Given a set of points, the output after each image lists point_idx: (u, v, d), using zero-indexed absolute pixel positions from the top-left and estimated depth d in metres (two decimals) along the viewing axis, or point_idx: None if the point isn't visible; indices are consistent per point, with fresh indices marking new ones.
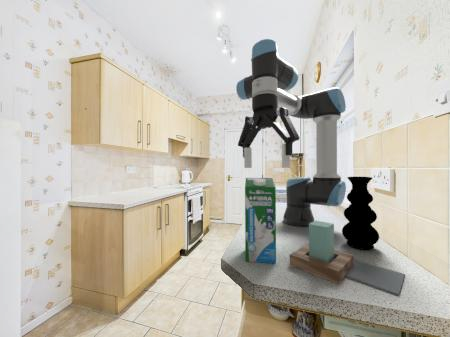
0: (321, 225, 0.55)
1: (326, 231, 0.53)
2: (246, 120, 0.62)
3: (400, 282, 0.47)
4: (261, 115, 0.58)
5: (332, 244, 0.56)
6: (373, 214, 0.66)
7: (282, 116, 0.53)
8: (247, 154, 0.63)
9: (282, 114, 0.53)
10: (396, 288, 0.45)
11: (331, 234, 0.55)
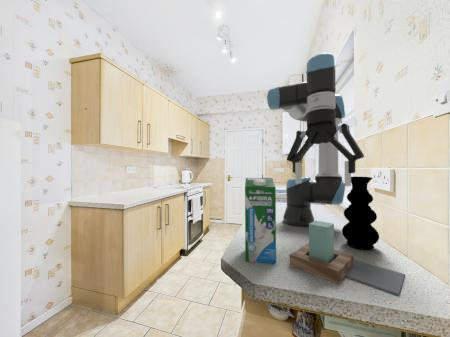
0: (321, 225, 0.55)
1: (326, 231, 0.53)
2: (298, 134, 0.60)
3: (400, 282, 0.47)
4: (317, 130, 0.56)
5: (332, 244, 0.56)
6: (373, 214, 0.66)
7: (345, 133, 0.51)
8: (298, 169, 0.61)
9: (345, 131, 0.51)
10: (396, 288, 0.45)
11: (331, 234, 0.55)
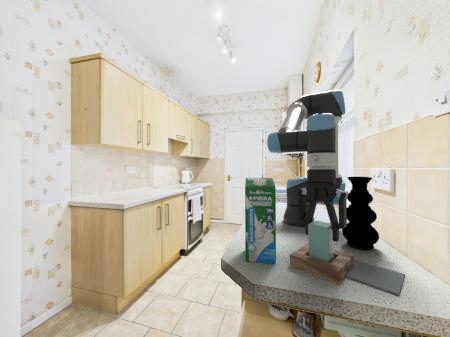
0: (321, 225, 0.55)
1: (326, 231, 0.53)
2: (300, 192, 0.60)
3: (400, 282, 0.47)
4: (317, 184, 0.56)
5: None
6: (373, 214, 0.66)
7: (341, 201, 0.52)
8: None
9: (342, 199, 0.52)
10: (396, 288, 0.45)
11: None
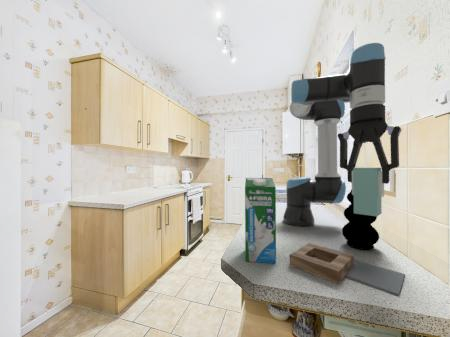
0: None
1: (375, 172, 0.48)
2: (341, 137, 0.55)
3: (400, 282, 0.47)
4: (362, 124, 0.51)
5: None
6: None
7: (393, 137, 0.47)
8: None
9: (395, 135, 0.47)
10: (396, 288, 0.45)
11: None
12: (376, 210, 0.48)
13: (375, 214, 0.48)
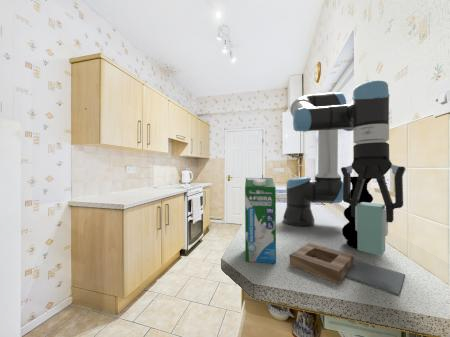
0: (372, 205, 0.50)
1: (380, 211, 0.48)
2: (344, 171, 0.55)
3: (400, 282, 0.47)
4: (366, 160, 0.51)
5: None
6: None
7: (398, 177, 0.46)
8: None
9: (399, 175, 0.46)
10: (396, 288, 0.45)
11: None
12: (380, 249, 0.48)
13: (379, 253, 0.48)
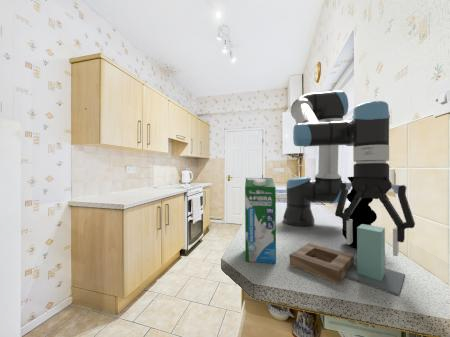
0: (372, 229, 0.50)
1: (380, 236, 0.48)
2: (343, 187, 0.55)
3: (400, 282, 0.47)
4: (367, 182, 0.51)
5: (384, 250, 0.50)
6: (373, 214, 0.66)
7: (401, 196, 0.46)
8: (350, 228, 0.54)
9: (402, 194, 0.46)
10: (396, 288, 0.45)
11: (383, 240, 0.50)
12: (380, 274, 0.48)
13: (379, 278, 0.48)
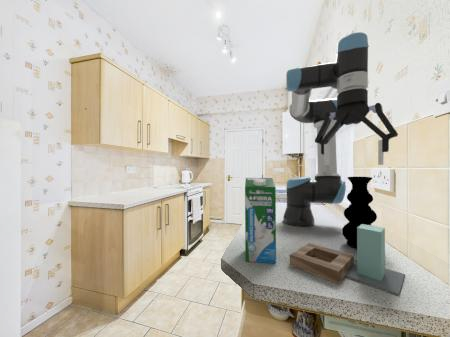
0: (372, 229, 0.50)
1: (380, 236, 0.48)
2: (327, 116, 0.61)
3: (400, 282, 0.47)
4: (348, 111, 0.57)
5: (384, 250, 0.50)
6: (373, 214, 0.66)
7: (379, 112, 0.52)
8: (327, 151, 0.62)
9: (379, 110, 0.52)
10: (396, 288, 0.45)
11: (383, 240, 0.50)
12: (380, 274, 0.48)
13: (379, 278, 0.48)
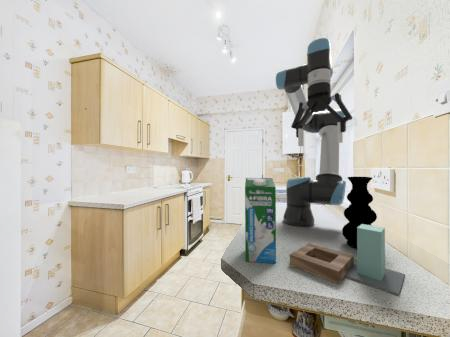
0: (372, 229, 0.50)
1: (380, 236, 0.48)
2: (300, 105, 0.74)
3: (400, 282, 0.47)
4: (316, 100, 0.70)
5: (384, 250, 0.50)
6: (373, 214, 0.66)
7: (337, 100, 0.65)
8: (301, 134, 0.75)
9: (337, 98, 0.65)
10: (396, 288, 0.45)
11: (383, 240, 0.50)
12: (380, 274, 0.48)
13: (379, 278, 0.48)
